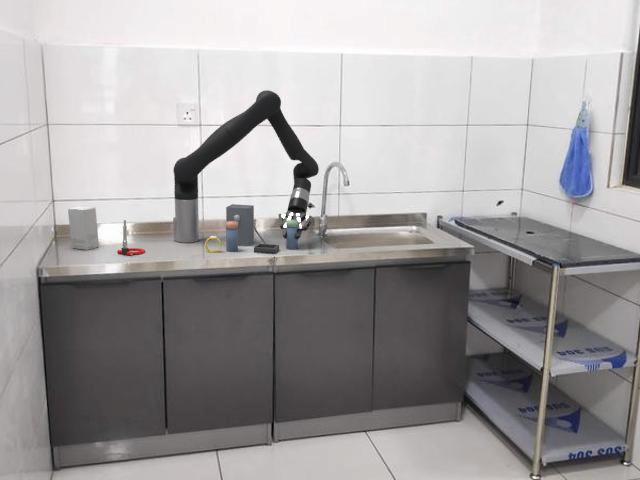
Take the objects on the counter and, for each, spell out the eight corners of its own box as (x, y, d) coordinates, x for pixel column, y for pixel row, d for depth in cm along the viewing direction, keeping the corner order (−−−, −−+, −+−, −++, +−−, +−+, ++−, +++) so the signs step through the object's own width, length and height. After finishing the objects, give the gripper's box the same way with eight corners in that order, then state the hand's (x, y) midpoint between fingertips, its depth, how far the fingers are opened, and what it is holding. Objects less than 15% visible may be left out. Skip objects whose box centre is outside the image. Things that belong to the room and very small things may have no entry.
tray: (253, 252, 250) (253, 247, 249) (259, 248, 256) (259, 243, 256) (274, 254, 248) (274, 248, 248) (279, 249, 255) (279, 244, 254)
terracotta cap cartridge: (223, 251, 251) (223, 223, 248) (228, 248, 255) (227, 220, 253) (235, 252, 250) (235, 223, 247) (240, 249, 254) (239, 221, 252)
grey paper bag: (99, 247, 254) (97, 207, 250) (86, 250, 248) (84, 209, 244) (82, 244, 257) (80, 205, 254) (69, 248, 251) (67, 207, 248)
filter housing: (225, 244, 262) (225, 207, 258) (232, 240, 269) (232, 204, 266) (247, 246, 260) (247, 208, 256) (254, 241, 267) (253, 205, 264)
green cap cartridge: (284, 249, 256) (284, 221, 254) (287, 246, 261) (287, 219, 258) (296, 250, 255) (296, 222, 253) (299, 247, 260) (299, 219, 257)
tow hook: (133, 250, 252) (115, 253, 244) (133, 216, 250) (114, 219, 242) (149, 253, 248) (131, 257, 240) (149, 219, 246) (131, 222, 238)
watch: (221, 251, 251) (222, 236, 250) (220, 253, 249) (221, 238, 248) (205, 250, 251) (206, 235, 250) (204, 252, 248) (205, 236, 247)
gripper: (279, 195, 262) (271, 231, 253) (314, 197, 259) (307, 233, 250) (283, 206, 268) (274, 242, 259) (317, 208, 265) (310, 244, 257)
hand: (290, 237), depth 255 cm, fingers closed on green cap cartridge, 4 cm apart
